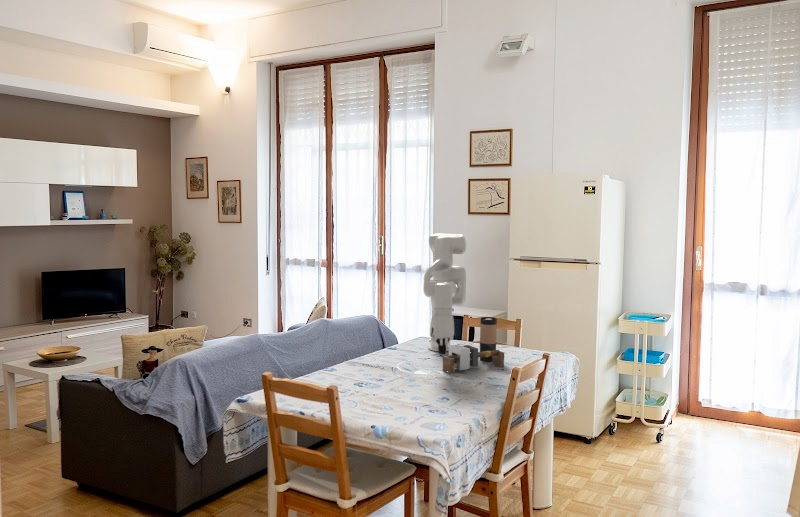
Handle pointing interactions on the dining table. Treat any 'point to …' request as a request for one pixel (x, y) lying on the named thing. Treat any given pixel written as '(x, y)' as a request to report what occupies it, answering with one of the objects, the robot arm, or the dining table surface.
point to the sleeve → (460, 356)
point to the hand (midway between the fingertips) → (442, 353)
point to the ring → (473, 355)
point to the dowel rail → (496, 360)
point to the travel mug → (488, 336)
